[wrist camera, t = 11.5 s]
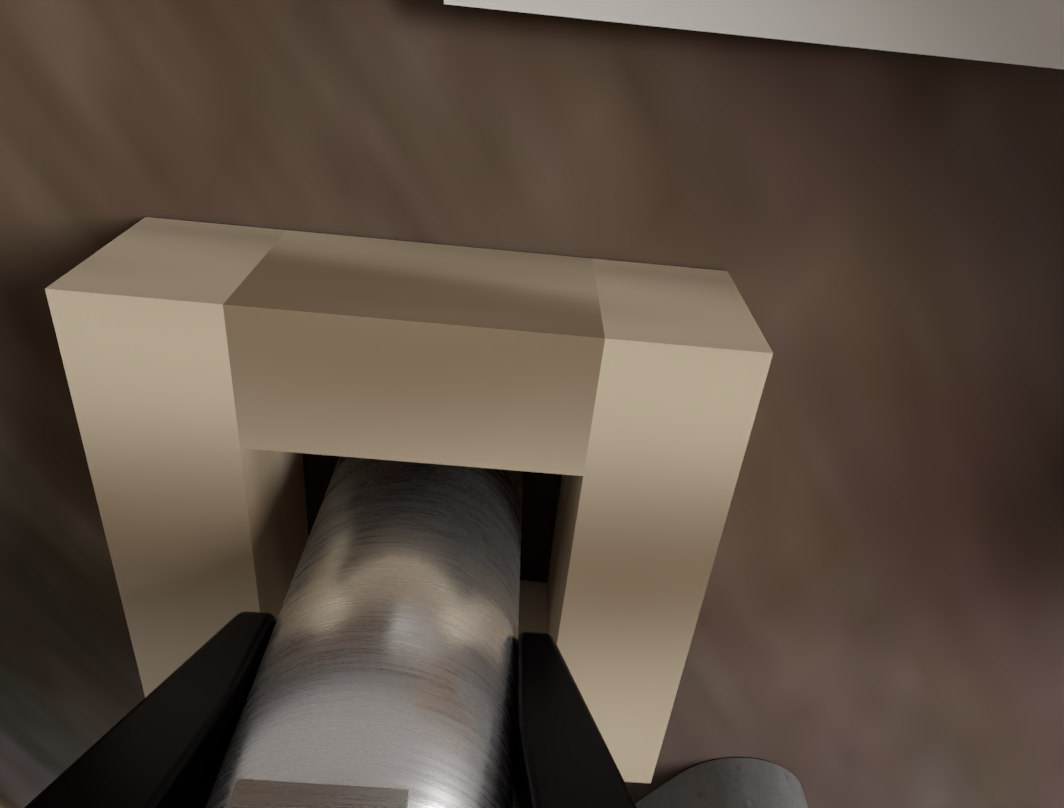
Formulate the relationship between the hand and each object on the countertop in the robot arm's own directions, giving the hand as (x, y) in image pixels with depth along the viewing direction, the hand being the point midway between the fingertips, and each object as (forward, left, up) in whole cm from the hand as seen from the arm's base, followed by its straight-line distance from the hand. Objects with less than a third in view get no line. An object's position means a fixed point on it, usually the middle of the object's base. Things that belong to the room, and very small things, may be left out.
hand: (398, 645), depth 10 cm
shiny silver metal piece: (0, 0, -4) cm, 4 cm away
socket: (0, 0, -4) cm, 4 cm away
